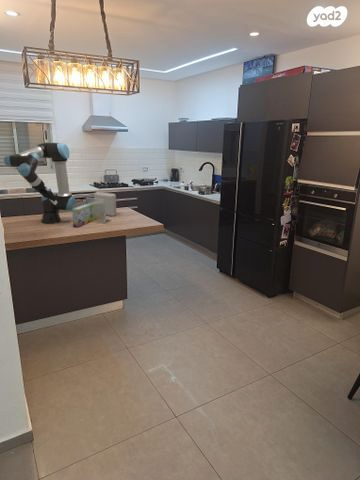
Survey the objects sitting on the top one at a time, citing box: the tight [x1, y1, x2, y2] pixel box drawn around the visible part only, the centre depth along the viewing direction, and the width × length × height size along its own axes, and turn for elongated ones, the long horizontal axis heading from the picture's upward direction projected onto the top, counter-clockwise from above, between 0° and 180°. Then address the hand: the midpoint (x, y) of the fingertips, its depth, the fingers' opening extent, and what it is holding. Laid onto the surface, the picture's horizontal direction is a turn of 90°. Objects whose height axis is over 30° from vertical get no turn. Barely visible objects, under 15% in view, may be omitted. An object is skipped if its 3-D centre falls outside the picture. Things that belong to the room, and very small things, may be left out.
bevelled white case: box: [93, 191, 117, 217], centre depth 303 cm, size 21×8×20 cm, turn 65°
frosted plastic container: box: [85, 197, 111, 224], centre depth 281 cm, size 18×9×20 cm, turn 66°
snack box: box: [71, 203, 92, 228], centre depth 270 cm, size 21×6×15 cm, turn 167°
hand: (55, 203), depth 242 cm, fingers closed
